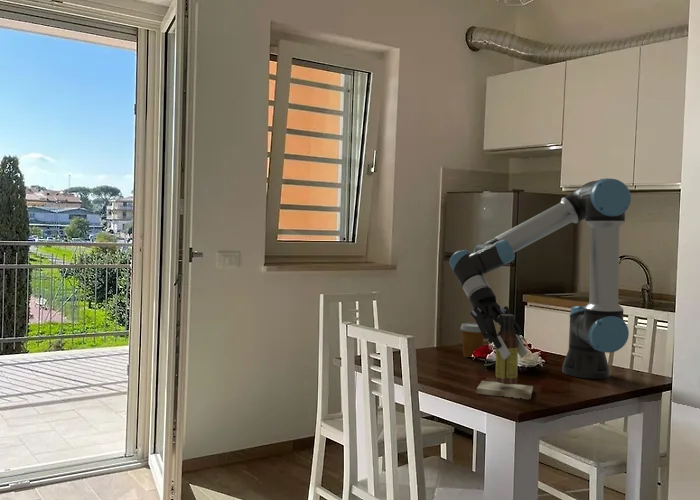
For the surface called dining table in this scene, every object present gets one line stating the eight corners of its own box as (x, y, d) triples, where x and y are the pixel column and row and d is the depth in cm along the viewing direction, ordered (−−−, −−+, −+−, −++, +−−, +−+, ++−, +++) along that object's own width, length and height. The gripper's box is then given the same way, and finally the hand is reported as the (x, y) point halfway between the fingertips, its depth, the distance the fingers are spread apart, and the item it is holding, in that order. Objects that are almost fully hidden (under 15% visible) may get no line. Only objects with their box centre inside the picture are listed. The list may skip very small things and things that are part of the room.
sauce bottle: (517, 381, 197) (521, 314, 196) (516, 385, 191) (519, 316, 190) (495, 378, 199) (498, 312, 198) (492, 383, 193) (496, 314, 192)
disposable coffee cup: (487, 359, 244) (488, 327, 244) (461, 358, 244) (462, 326, 244) (482, 354, 254) (483, 323, 253) (457, 353, 254) (458, 322, 254)
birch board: (532, 391, 197) (533, 386, 197) (530, 399, 187) (530, 394, 187) (481, 385, 202) (482, 380, 202) (476, 393, 192) (476, 388, 192)
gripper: (496, 300, 212) (532, 361, 199) (449, 302, 202) (484, 365, 189) (509, 285, 207) (546, 346, 194) (461, 286, 197) (498, 350, 184)
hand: (515, 355), depth 191 cm, fingers closed on sauce bottle, 6 cm apart
